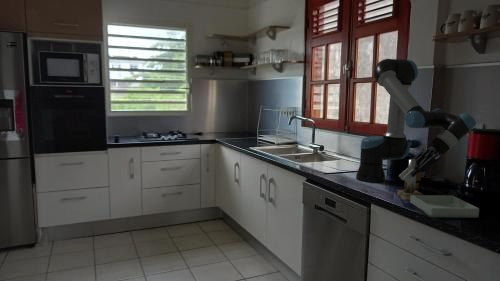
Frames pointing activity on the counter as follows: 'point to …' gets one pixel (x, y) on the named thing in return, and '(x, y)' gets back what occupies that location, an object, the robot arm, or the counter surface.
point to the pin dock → (407, 194)
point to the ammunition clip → (418, 182)
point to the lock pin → (412, 182)
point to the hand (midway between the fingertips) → (402, 179)
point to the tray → (444, 206)
